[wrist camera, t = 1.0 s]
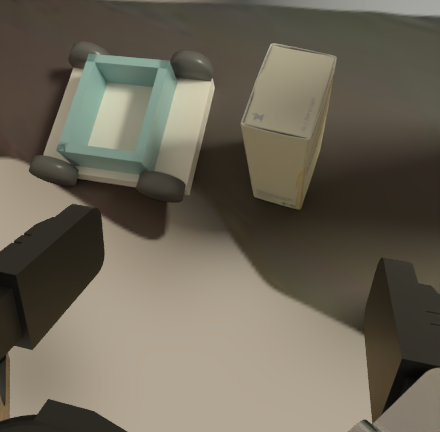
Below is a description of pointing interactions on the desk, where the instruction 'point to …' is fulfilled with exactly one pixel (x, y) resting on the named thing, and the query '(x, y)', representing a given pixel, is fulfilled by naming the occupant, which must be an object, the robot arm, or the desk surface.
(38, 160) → the toy car chassis
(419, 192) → the desk surface
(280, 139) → the skincare box
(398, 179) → the desk surface
